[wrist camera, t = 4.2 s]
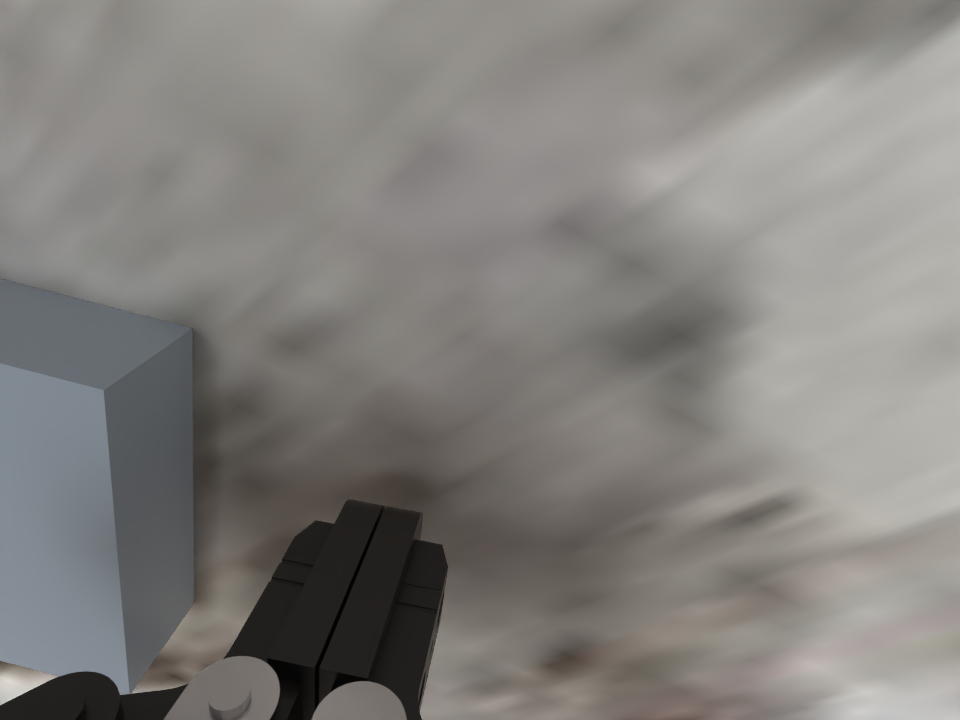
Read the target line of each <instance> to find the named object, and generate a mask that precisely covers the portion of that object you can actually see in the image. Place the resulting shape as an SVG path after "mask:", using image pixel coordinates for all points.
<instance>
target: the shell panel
mask: <svg viewBox="0 0 960 720" xmlns="http://www.w3.org/2000/svg"><path fill="white" fill-rule="evenodd" d="M193 604H194V483H193V328H189V327H185V326H181V325H178V324H174V323H170V322H166V321H162V320H158V319H154V318H151V317H147V316H143V315H139V314H135V313H131V312H127V311H124V310H120V309H116V308H112V307H108V306H104V305H100V304H97V303H93V302H89V301H85V300H81V299H77V298H73V297H70V296H66V295H62V294H58V293H54V292H50V291H46V290H43V289H39V288H35V287H31V286H27V285H23V284H19V283H16V282H12V281H8V280H4V279H0V661H4V662H7V663H11V664H15V665H18V666H22V667H26V668H30V669H33V670H37V671H41V672H44V673H48V674H52V675H56V676H59V677H60V676H63V675H66V674H70V673H75V672H84V671H89V672H97V673H101V674H103V675H105V676H107V677H109V678H110V679H111V680H112V681H114V683H115V684H116V686H117V688H118V691H119V693H122V694H131V693H132V691H133V690H134V688H135V687H136V686H137V684H138V683H139V681H140V680H141V678H142V677H143V675H144V674H145V673H146V671H147V670H148V668H149V667H150V665H151V664H152V663H153V661H154V660H155V658H156V657H157V655H158V654H159V652H160V651H161V650H162V648H163V647H164V645H165V644H166V642H167V641H168V640H169V638H170V637H171V635H172V634H173V632H174V631H175V629H176V628H177V627H178V625H179V624H180V622H181V621H182V619H183V618H184V616H185V615H186V614H187V612H188V611H189V609H190V608H191V606H192V605H193Z"/></svg>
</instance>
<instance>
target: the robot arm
mask: <svg viewBox="0 0 960 720" xmlns="http://www.w3.org/2000/svg"><path fill="white" fill-rule="evenodd" d="M422 519H423V514H422V513H419V512H414V511H409V510H404V509H398V508H393V507H388V506H387V507H386V508H385V506H382V505H377V504H371V503H366V502H361V501H356V500H350V499H349V500H347V501H346V503H345V505H344V506H343V508H342V510H341V512H340V514H339V516H338V518H337V520H336V522H335V524H331V523H326V522H321V521H315V522H313V523H312V524H311V525H310V526H308V527H307V528H306V529H305V530H303V531H302V532H301V533H299V534H298V535H297V536H296V537H295V538H294V539H293V541H292V543H291V545H290V546H289V548H288V550H287V552H286V553H285V555H284V557H283V559H282V562H281V563H280V564H279V565H278V567H277V569H276V571H275V572H274V574H273V576H272V579H271V582H269V583H268V585H267V586H266V588H265V590H264V592H263V593H262V595H261V597H260V598H259V600H258V602H257V604H256V605H255V607H254V609H253V611H252V612H251V614H250V616H249V618H248V619H247V621H246V623H245V625H244V626H243V628H242V630H241V632H240V633H239V635H238V637H237V638H236V640H235V642H234V644H233V645H232V647H231V649H230V650H229V652H228V653H227V655H226V656H225V658H224V659H222V660H220V661H217V662H215V663H213V664H211V665H210V666H208V667H206V668H205V669H203V670H202V671H201V672H199V673H198V674H197V675H196V676H195V677H194V678H193V679H192V680H191V682H190V683H189V684H186V685H184V686H180V687H177V688H173V689H167V690H160V691H151V692H143V693H134V694H126V695H120V694H119V691H118V688H117V686H116V684H115V683H114V681H112V680H111V679H110V678H109V677H107V676H105V675H103V674H101V673H97V672H89V671H84V672H75V673H70V674H66V675H63V676H60V677H57V678H55V679H52V680H50V681H48V682H46V683H44V684H42V685H40V686H38V687H36V688H34V689H32V690H30V691H28V692H26V693H24V694H22V695H20V696H18V697H16V698H14V699H12V700H10V701H8V702H6V703H4V704H2V705H0V720H422V719H421V716H420V708H421V703H422V699H423V695H424V690H425V686H426V681H427V677H428V672H429V667H430V664H431V659H432V655H433V650H434V645H435V641H436V637H437V633H438V628H439V624H440V618H441V611H442V605H443V598H444V591H445V584H446V577H447V570H448V565H447V562H446V558H445V554H444V550H443V546H442V545H440V544H435V543H430V542H425V541H420V537H421V528H422Z"/></svg>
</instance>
